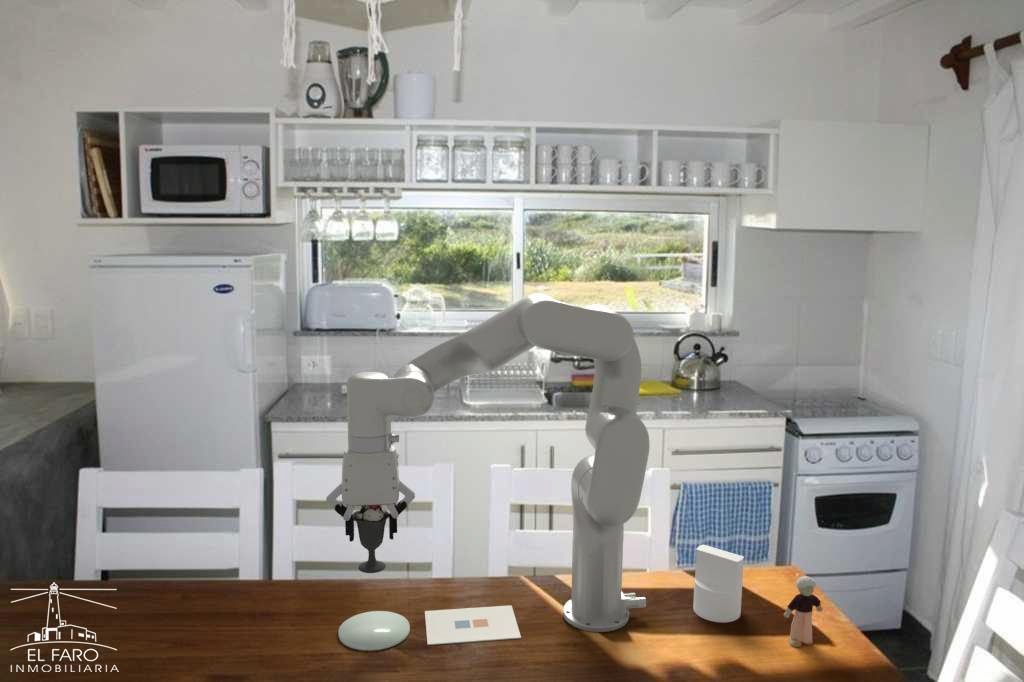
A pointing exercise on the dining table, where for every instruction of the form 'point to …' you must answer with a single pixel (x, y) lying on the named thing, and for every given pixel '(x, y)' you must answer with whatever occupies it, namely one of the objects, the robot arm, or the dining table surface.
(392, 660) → the dining table surface
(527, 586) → the dining table surface
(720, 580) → the cylinder with rectangular tab
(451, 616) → the tile
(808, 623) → the grandmother figurine
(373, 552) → the sundae
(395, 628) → the plate
